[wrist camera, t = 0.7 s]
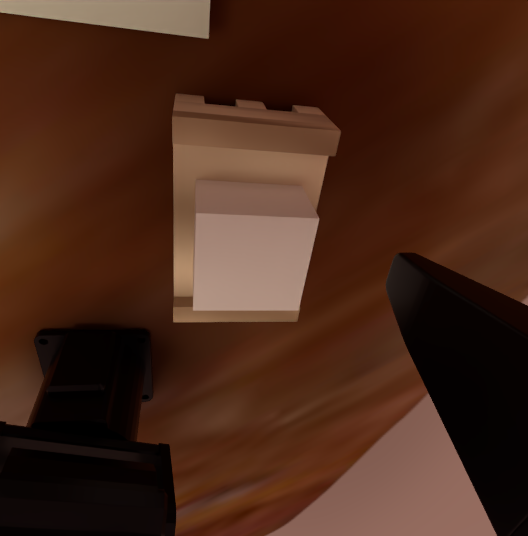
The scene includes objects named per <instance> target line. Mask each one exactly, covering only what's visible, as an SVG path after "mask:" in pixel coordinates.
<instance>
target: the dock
mask: <svg viewBox="0 0 528 536" xmlns="http://www.w3.org/2000/svg"><path fill="white" fill-rule="evenodd" d="M0 12H1V13H9V14H17V15H25V16H33V17H41V18H49V19H56V20H64V21H72V22H80V23H88V24H96V25H104V26H111V27H119V28H127V29H135V30H143V31H151V32H159V33H167V34H174V35H182V36H190V37H198V38H206V39H209V19H210V0H0Z"/></svg>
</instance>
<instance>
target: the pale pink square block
mask: <svg viewBox="0 0 528 536" xmlns="http://www.w3.org/2000/svg"><path fill="white" fill-rule="evenodd" d="M318 223H319V217H318V215H317V213H316V211H315V209H314V207H313V206H312V204H311V202H310V200H309V198H308V196H307V194H306V192H305V190H304V189H303V187H302V186H296V185H279V184H263V183H246V182H230V181H213V180H197V179H196V184H195V218H194V252H193V311H298V310H299V305H300V301H301V297H302V292H303V288H304V284H305V279H306V275H307V271H308V266H309V262H310V258H311V253H312V249H313V244H314V240H315V236H316V231H317V227H318Z"/></svg>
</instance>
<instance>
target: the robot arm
mask: <svg viewBox="0 0 528 536" xmlns="http://www.w3.org/2000/svg"><path fill="white" fill-rule="evenodd" d="M386 291H387V294H388V297H389V300H390V303H391V306H392V308H393V311H394V314H395V317H396V320H397V323H398V326H399V328H400V331H401V334H402V337H403V339H404V342H405V344H406V347H407V349H408V351H409V353H410V355H411V357H412V360H413V362H414V364H415V366H416V368H417V370H418V372H419V374H420V376H421V378H422V380H423V382H424V384H425V387H426V389H427V391H428V393H429V395H430V397H431V399H432V401H433V403H434V405H435V407H436V409H437V412H438V414H439V416H440V418H441V420H442V422H443V424H444V426H445V428H446V430H447V432H448V434H449V436H450V438H451V440H452V442H453V445H454V447H455V449H456V451H457V453H458V455H459V457H460V459H461V461H462V463H463V466H464V468H465V470H466V472H467V474H468V476H469V478H470V480H471V482H472V484H473V486H474V488H475V491H476V493H477V495H478V497H479V499H480V501H481V503H482V505H483V507H484V509H485V511H486V513H487V516H488V518H489V520H490V522H491V524H492V526H493V528H494V530H495V532H496V534H497V536H528V306H527V305H525V304H523V303H521V302H519V301H517V300H514V299H512V298H510V297H508V296H506V295H504V294H502V293H499V292H497V291H495V290H493V289H491V288H489V287H487V286H484V285H482V284H480V283H478V282H476V281H474V280H472V279H469V278H467V277H465V276H463V275H461V274H459V273H457V272H454V271H452V270H450V269H448V268H446V267H444V266H442V265H439V264H437V263H435V262H433V261H431V260H429V259H427V258H424V257H422V256H420V255H418V254H416V253H398V254H396V255H395V257H394V259H393V261H392V265H391V268H390V271H389V274H388V277H387V280H386ZM140 337H142V338H143V339H141V338H140ZM44 339H46V340H44ZM34 343H35V347H36V350H37V354H38V357H39V361H40V364H41V368H42V371H43V375H44V380H43V383H42V386H41V388H40V391H39V394H38V396H37V399H36V402H35V404H34V407H33V410H32V412H31V415H30V418H29V420H28V423H27V426H26V427H24V426H17V425H10V424H6V422H2V421H0V536H175V526H176V502H175V493H174V484H173V474H172V465H171V456H170V446H169V444H162V443H159V444H158V445H157V444H149V443H142V442H136V441H137V433H138V425H139V417H140V409H141V402H147V401H150V400H151V399H152V398H153V378H152V359H151V339H150V333H149V332H148V331H145V330H66V331H40V332H38V333H37V334H36V337H35V339H34Z"/></svg>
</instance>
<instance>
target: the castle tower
mask: <svg viewBox="0 0 528 536" xmlns="http://www.w3.org/2000/svg"><path fill="white" fill-rule="evenodd" d="M340 134H341V131H340V130H339V129H338V127H337V126H336V125H335V124H334V123H333V122H332V121H331V120H330V119H329V118H328V117H327V116H326V115H325V114H324V113H323V112H322V111H321V110H320V109H319V108H318V107H308V106H298V105H293V106H292V112H287V111H277V110H267V109H266V107H265V106H264V104H263V102H258V101H248V100H238V99H236V104H235V106H225V105H214V104H205V102H204V96H198V95H188V94H178V93H176V95H175V101H174V108H173V114H172V144H173V199H174V304H173V322H295V321H297V319H298V315H299V311H300V305H299V310H298V311H193V252H194V218H195V184H196V179H197V180H213V181H230V182H246V183H263V184H279V185H296V186H302V187H303V189H304V190H305V192H306V194H307V196H308V198H309V200H310V202H311V204H312V206H313V207H314V209H315V211H316V210H317V205H318V201H319V196H320V192H321V187H322V183H323V178H324V174H325V169H326V165H327V160H328V156H336V152H337V147H338V143H339V139H340Z"/></svg>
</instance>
